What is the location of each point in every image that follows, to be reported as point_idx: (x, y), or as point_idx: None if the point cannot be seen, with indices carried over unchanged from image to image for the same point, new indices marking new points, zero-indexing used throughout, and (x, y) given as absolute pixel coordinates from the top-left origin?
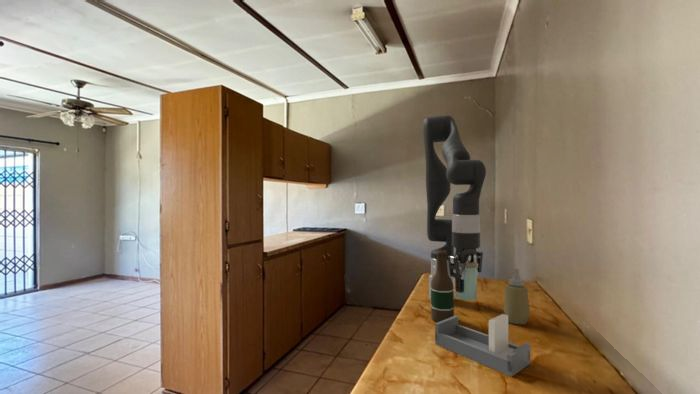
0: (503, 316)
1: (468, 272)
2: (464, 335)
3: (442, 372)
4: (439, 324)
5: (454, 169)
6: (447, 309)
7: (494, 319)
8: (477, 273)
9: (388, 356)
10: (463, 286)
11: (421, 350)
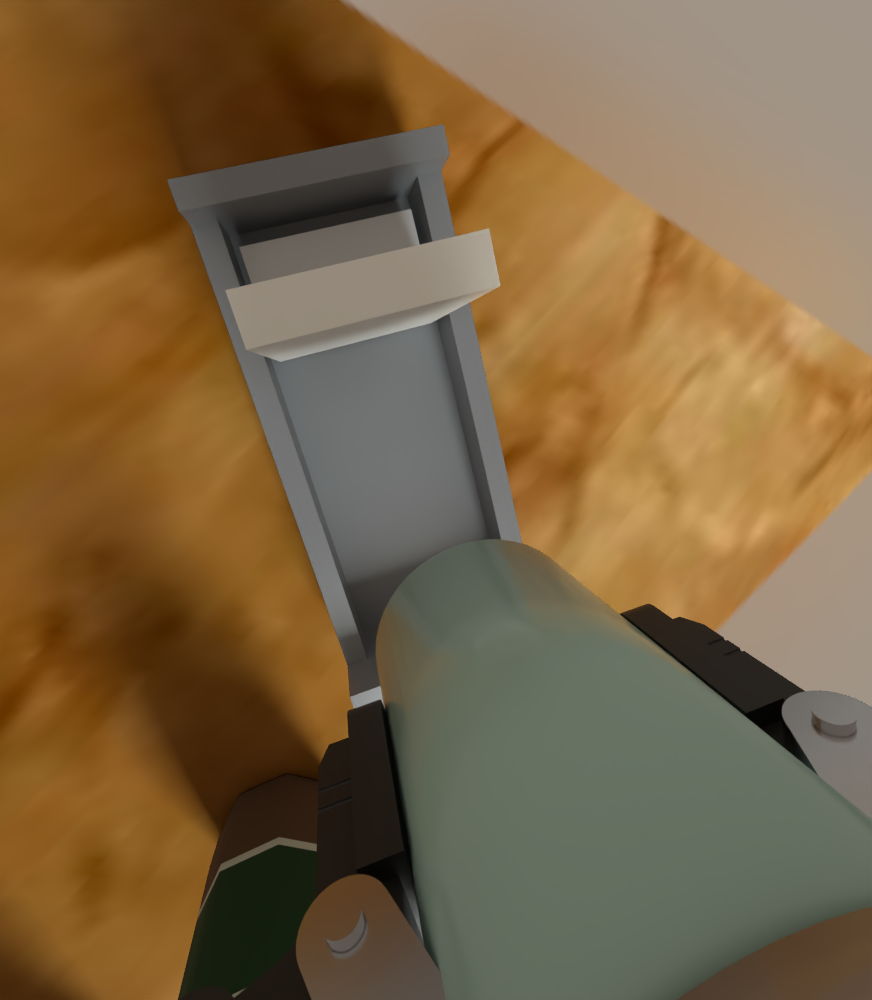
0: (293, 294)
1: (826, 785)
2: (348, 591)
3: (657, 363)
4: None
5: None
6: (289, 845)
7: (438, 275)
8: (335, 918)
9: (745, 558)
10: (677, 642)
11: (606, 557)
